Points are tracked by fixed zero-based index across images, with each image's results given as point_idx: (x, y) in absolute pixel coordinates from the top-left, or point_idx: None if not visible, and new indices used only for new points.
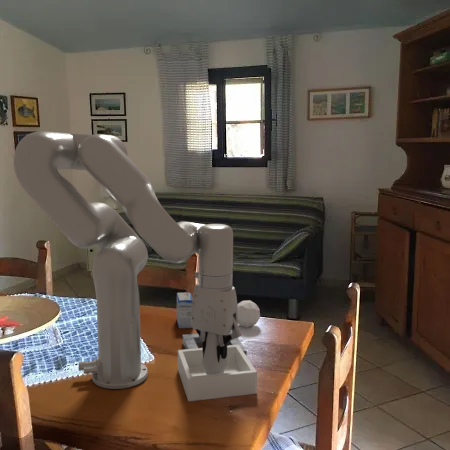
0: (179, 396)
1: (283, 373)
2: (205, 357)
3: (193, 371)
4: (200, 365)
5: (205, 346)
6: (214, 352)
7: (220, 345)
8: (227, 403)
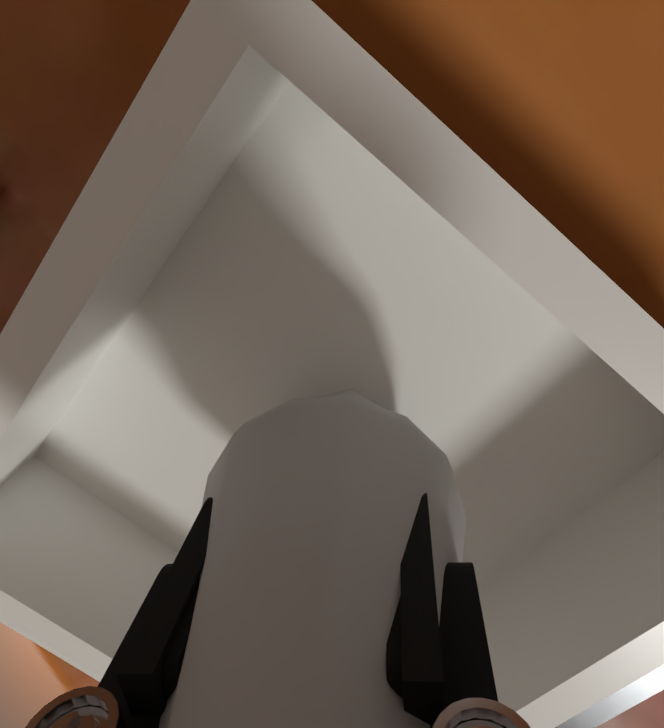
0: (424, 28)
1: None
2: (365, 488)
3: (556, 423)
4: (562, 529)
5: (397, 629)
6: (223, 574)
7: (104, 706)
8: (42, 212)
